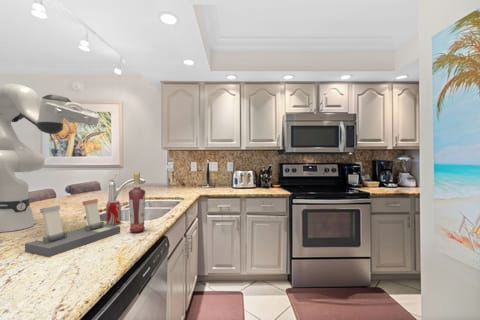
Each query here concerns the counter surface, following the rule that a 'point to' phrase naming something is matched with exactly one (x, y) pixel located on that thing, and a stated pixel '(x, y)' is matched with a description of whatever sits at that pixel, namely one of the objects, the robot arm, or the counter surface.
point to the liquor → (137, 206)
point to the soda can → (113, 212)
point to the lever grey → (52, 222)
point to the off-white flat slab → (92, 213)
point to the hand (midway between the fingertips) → (71, 115)
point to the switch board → (70, 240)
